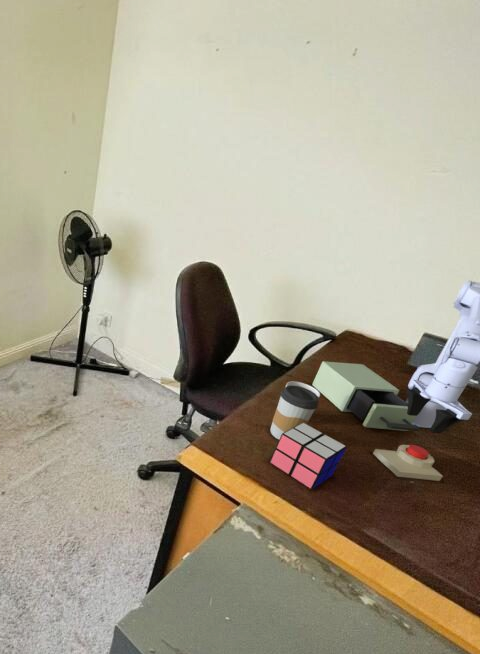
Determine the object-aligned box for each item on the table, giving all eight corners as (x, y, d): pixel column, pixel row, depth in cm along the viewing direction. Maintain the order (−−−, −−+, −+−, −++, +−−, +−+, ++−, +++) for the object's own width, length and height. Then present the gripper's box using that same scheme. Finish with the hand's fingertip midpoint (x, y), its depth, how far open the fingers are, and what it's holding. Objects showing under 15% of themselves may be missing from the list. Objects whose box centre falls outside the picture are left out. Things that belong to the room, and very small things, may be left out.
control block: (412, 455, 111) (419, 446, 110) (443, 481, 104) (450, 471, 102) (370, 451, 113) (375, 441, 111) (397, 476, 105) (403, 466, 103)
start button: (417, 450, 109) (420, 445, 108) (429, 460, 106) (432, 455, 105) (402, 449, 109) (405, 444, 109) (414, 459, 106) (417, 454, 105)
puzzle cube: (311, 490, 100) (327, 459, 96) (268, 462, 108) (281, 433, 104) (332, 476, 104) (348, 446, 100) (289, 450, 112) (302, 421, 108)
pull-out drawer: (420, 441, 115) (434, 419, 112) (376, 437, 117) (389, 415, 113) (371, 402, 132) (382, 382, 128) (333, 399, 133) (343, 379, 130)
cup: (313, 426, 121) (326, 399, 117) (283, 422, 123) (295, 395, 119) (299, 409, 129) (310, 383, 125) (270, 405, 130) (281, 379, 126)
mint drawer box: (385, 415, 127) (399, 390, 123) (342, 411, 128) (354, 386, 124) (351, 388, 140) (362, 364, 136) (312, 384, 142) (322, 361, 138)
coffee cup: (294, 429, 120) (313, 387, 114) (305, 449, 113) (326, 405, 106) (261, 423, 122) (278, 381, 116) (270, 441, 115) (289, 398, 109)
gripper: (407, 364, 111) (385, 405, 117) (459, 397, 98) (431, 440, 103) (435, 367, 110) (412, 407, 116) (492, 400, 97) (462, 443, 103)
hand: (423, 423), depth 110 cm, fingers open, 6 cm apart
